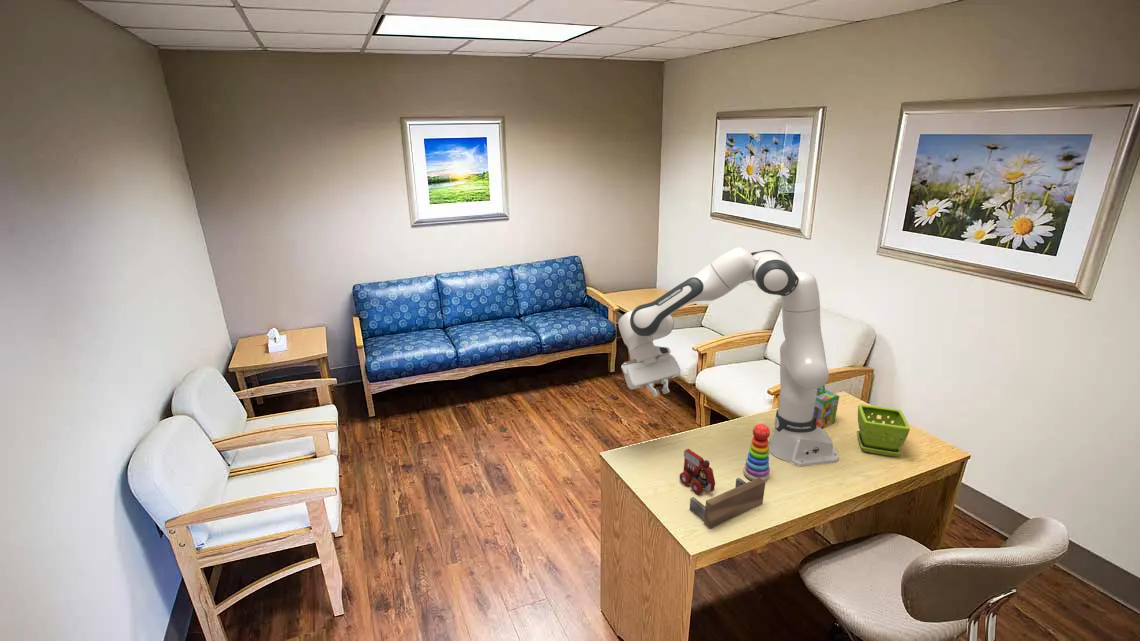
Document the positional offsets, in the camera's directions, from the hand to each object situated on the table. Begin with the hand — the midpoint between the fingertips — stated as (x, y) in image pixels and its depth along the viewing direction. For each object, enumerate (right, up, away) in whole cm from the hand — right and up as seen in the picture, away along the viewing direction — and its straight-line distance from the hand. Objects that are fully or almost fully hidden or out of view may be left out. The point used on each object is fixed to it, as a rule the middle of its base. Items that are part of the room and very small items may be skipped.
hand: (662, 394), depth 180 cm
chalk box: (+64, -14, +29) cm, 72 cm away
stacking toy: (+30, -26, -3) cm, 40 cm away
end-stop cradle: (+16, -31, -17) cm, 39 cm away
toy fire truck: (+10, -28, -7) cm, 30 cm away
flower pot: (+77, -20, +12) cm, 80 cm away
